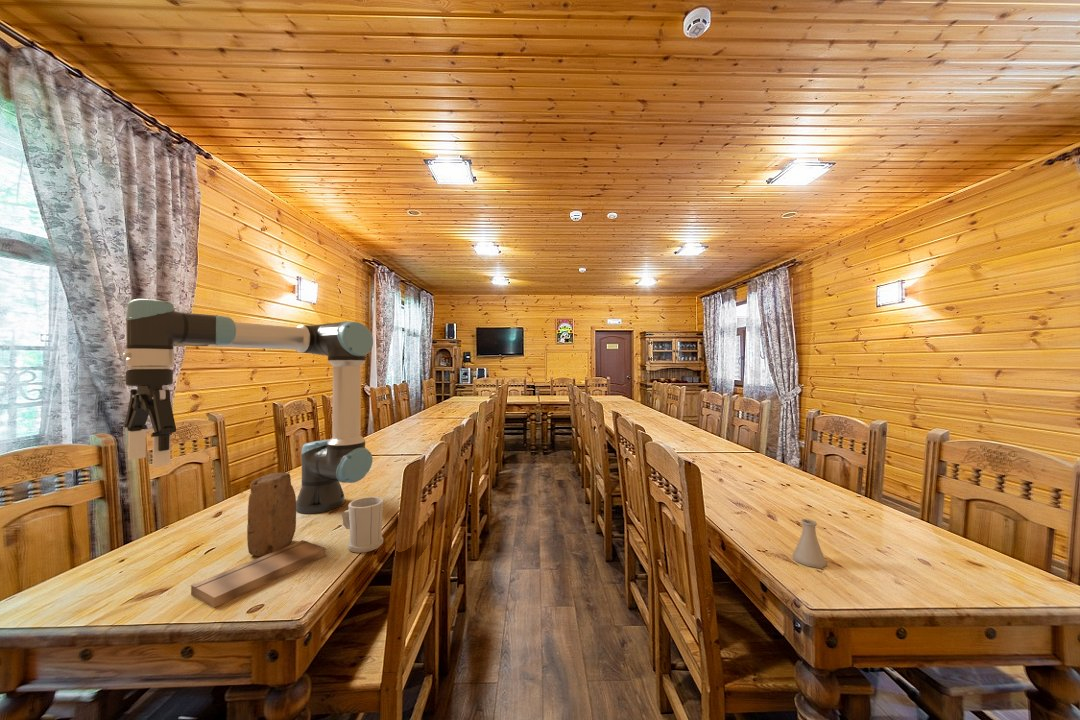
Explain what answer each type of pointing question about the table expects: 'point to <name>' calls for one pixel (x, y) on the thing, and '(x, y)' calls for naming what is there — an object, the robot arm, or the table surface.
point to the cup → (364, 524)
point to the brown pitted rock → (271, 514)
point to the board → (256, 573)
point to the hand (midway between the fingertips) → (148, 462)
